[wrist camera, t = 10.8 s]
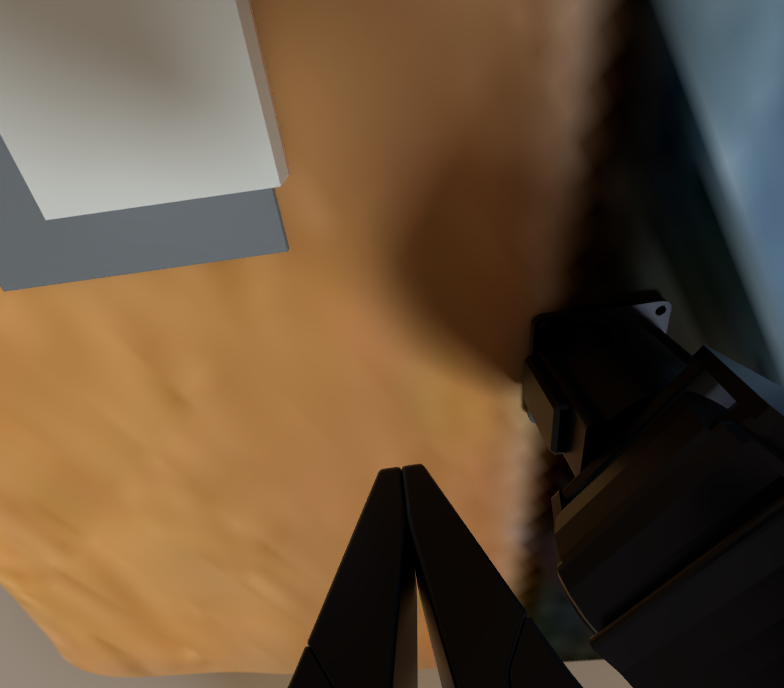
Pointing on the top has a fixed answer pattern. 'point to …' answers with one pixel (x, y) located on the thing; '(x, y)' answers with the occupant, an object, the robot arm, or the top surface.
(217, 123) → the tile
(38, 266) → the mat
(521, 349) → the top surface
